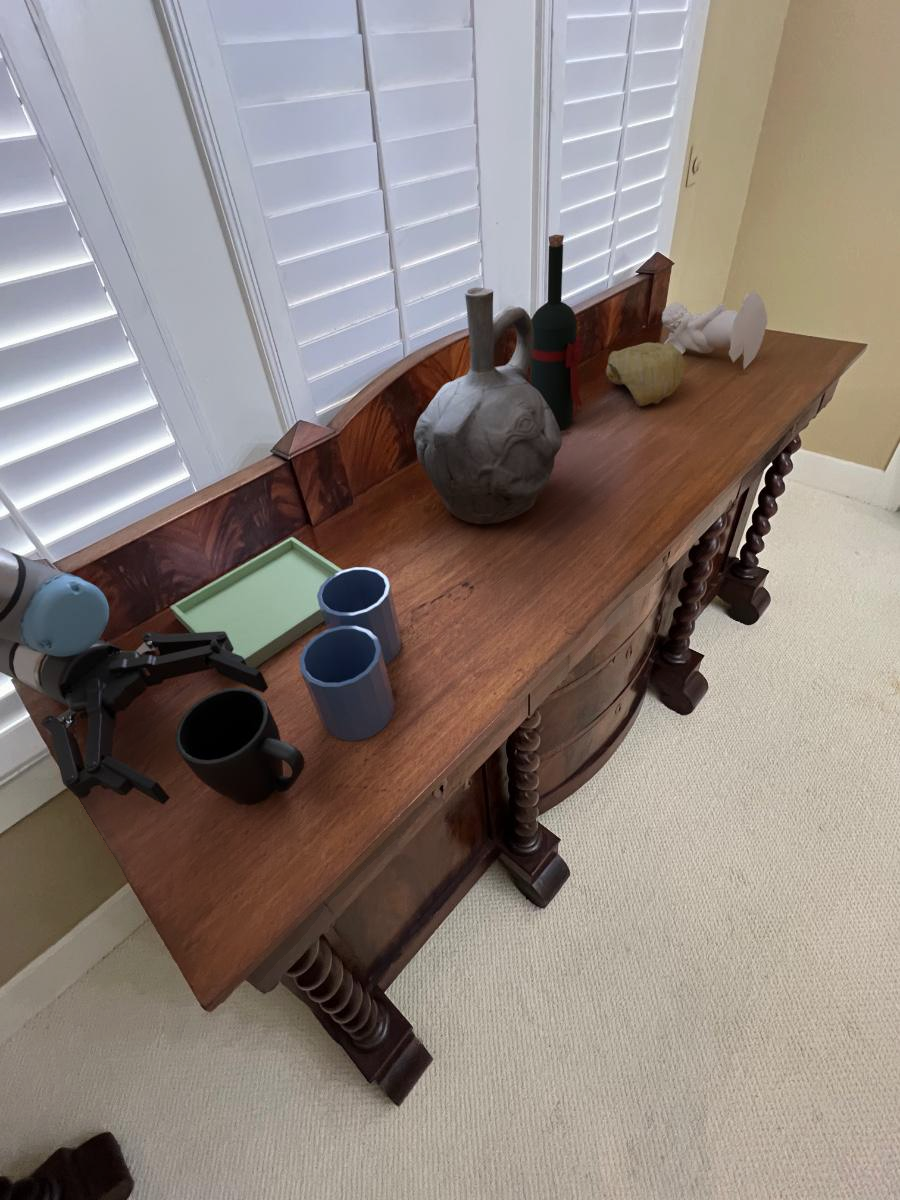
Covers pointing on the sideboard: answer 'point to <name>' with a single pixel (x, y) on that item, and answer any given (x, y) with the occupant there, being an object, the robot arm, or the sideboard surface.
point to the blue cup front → (348, 682)
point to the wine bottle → (556, 345)
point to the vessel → (489, 424)
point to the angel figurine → (719, 328)
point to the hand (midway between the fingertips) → (215, 733)
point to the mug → (237, 746)
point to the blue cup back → (362, 606)
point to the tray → (261, 601)
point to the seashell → (647, 371)
